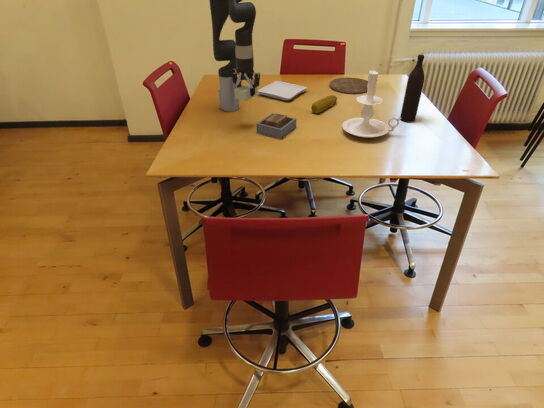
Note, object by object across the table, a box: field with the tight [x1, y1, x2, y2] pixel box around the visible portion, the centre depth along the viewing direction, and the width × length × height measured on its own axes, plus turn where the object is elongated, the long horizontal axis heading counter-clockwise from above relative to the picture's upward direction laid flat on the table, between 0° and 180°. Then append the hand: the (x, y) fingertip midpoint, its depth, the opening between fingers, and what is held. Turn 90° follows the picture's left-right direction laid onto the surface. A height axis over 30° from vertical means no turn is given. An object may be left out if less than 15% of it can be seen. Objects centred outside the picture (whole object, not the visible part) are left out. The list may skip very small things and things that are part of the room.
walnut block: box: [266, 112, 288, 129], centre depth 173 cm, size 6×9×5 cm, turn 149°
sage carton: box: [234, 83, 259, 102], centre depth 169 cm, size 6×9×4 cm, turn 146°
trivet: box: [328, 77, 368, 95], centre depth 222 cm, size 25×25×2 cm
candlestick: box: [341, 70, 401, 139], centre depth 164 cm, size 21×25×28 cm
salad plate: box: [258, 80, 308, 101], centre depth 213 cm, size 21×21×3 cm
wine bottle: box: [399, 54, 426, 123], centre depth 175 cm, size 7×7×30 cm
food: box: [310, 94, 338, 114], centre depth 195 cm, size 21×6×6 cm, turn 144°
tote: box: [255, 112, 297, 140], centre depth 174 cm, size 13×14×4 cm
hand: (246, 94), depth 170 cm, fingers closed on sage carton, 6 cm apart
